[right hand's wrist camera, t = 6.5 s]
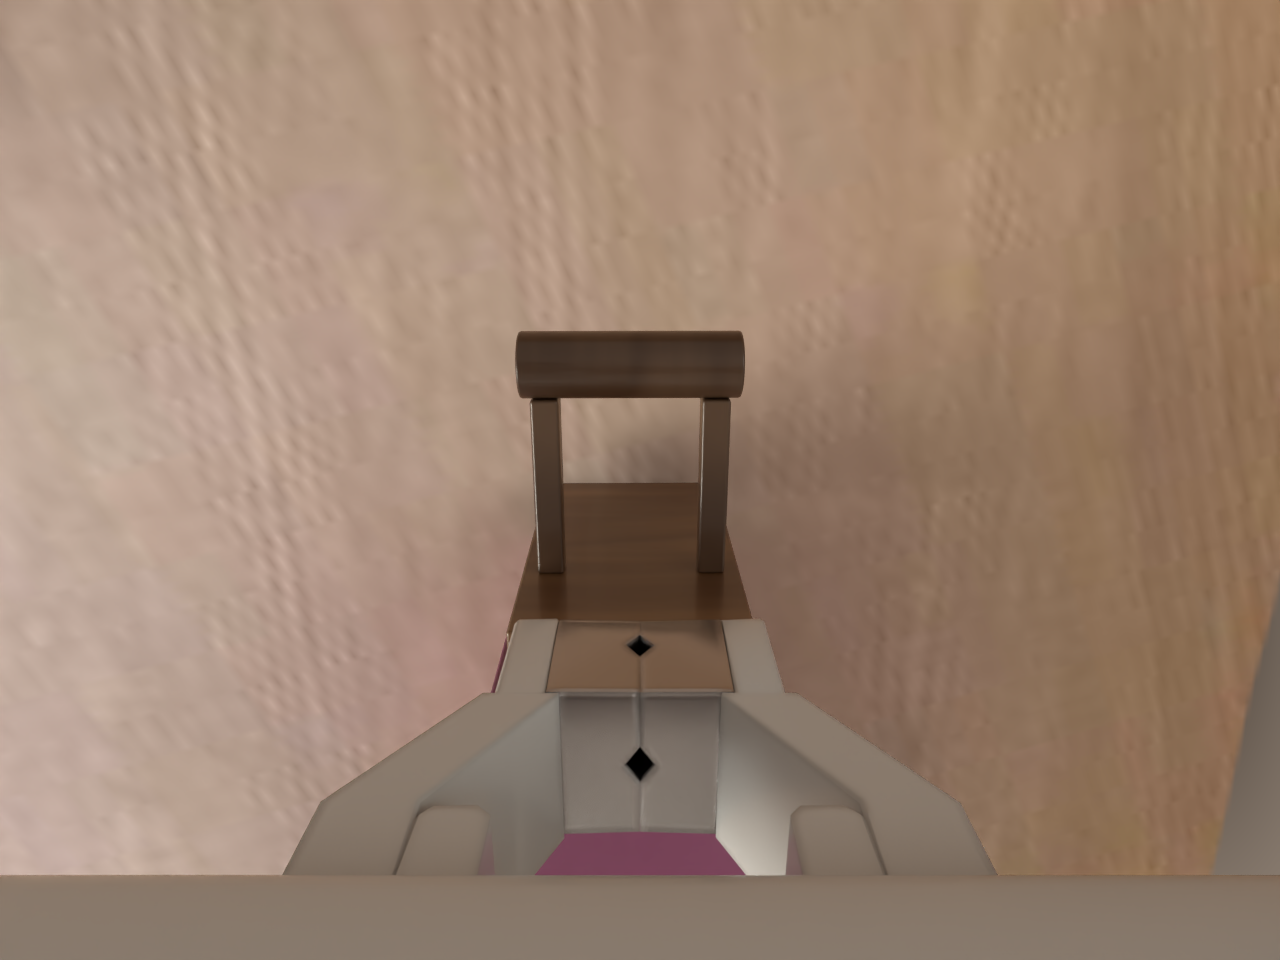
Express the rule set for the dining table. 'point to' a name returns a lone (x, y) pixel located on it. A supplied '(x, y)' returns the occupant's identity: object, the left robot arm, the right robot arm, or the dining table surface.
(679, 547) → the wooden drawer
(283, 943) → the right robot arm
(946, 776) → the dining table surface
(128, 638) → the dining table surface
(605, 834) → the purple rectangular block
